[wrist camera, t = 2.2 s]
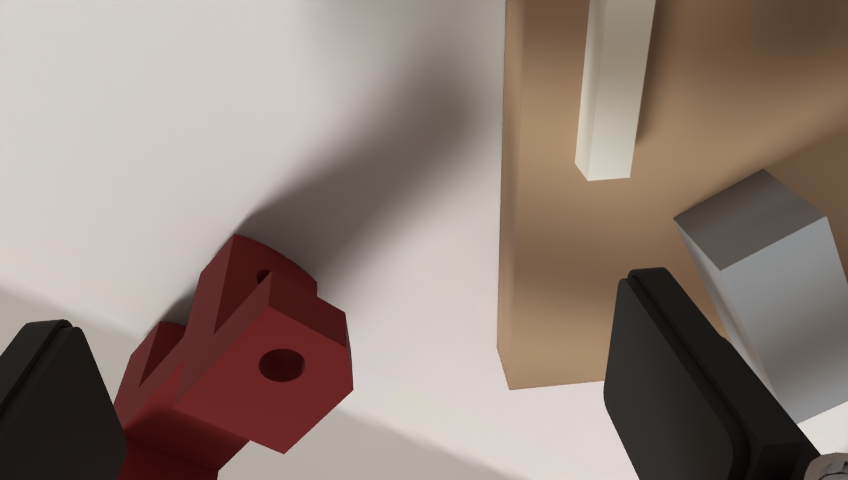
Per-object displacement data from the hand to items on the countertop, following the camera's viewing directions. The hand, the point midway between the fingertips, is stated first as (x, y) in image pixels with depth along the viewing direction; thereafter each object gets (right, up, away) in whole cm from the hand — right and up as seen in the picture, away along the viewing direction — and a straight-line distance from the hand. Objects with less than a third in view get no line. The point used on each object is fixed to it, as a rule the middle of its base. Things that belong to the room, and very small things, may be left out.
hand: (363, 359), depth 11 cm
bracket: (-1, +2, +4) cm, 4 cm away
